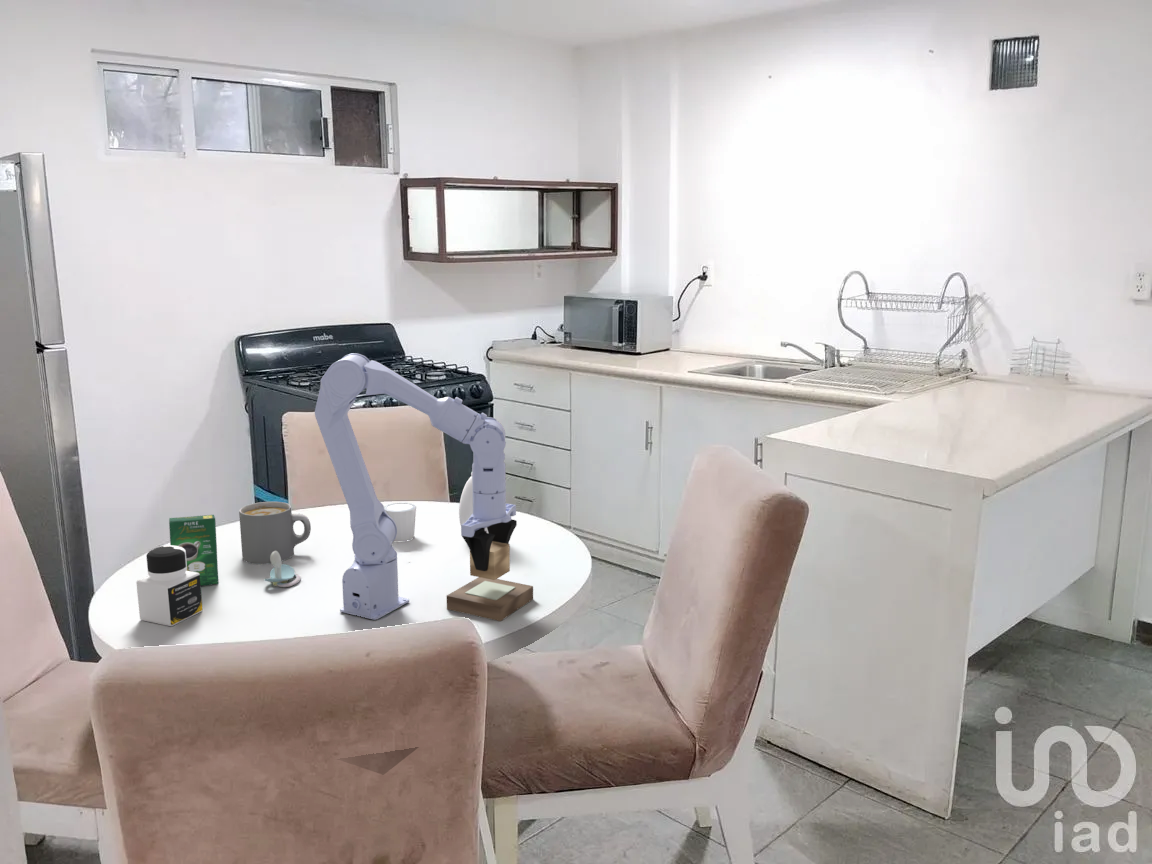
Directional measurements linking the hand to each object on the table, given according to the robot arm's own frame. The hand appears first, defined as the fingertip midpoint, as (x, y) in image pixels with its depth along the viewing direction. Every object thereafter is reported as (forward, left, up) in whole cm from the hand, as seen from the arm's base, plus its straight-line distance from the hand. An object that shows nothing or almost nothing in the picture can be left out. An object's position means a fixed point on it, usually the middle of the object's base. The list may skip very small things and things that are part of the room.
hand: (490, 564), depth 159 cm
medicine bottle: (-30, +45, -8) cm, 55 cm away
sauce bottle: (+28, +21, -8) cm, 36 cm away
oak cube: (0, 0, -2) cm, 2 cm away
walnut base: (0, 0, -7) cm, 7 cm away
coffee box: (-18, +53, -8) cm, 56 cm away
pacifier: (-9, +40, -8) cm, 42 cm away
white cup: (+22, +37, -8) cm, 44 cm away
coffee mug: (+1, +52, -8) cm, 53 cm away
